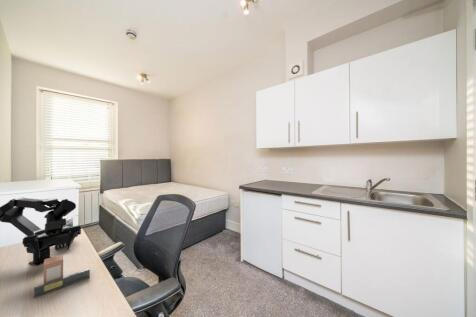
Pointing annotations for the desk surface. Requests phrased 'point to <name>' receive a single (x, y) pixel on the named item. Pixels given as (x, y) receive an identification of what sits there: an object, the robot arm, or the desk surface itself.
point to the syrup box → (69, 222)
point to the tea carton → (53, 268)
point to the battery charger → (62, 240)
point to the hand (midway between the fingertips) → (54, 253)
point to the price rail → (61, 283)
